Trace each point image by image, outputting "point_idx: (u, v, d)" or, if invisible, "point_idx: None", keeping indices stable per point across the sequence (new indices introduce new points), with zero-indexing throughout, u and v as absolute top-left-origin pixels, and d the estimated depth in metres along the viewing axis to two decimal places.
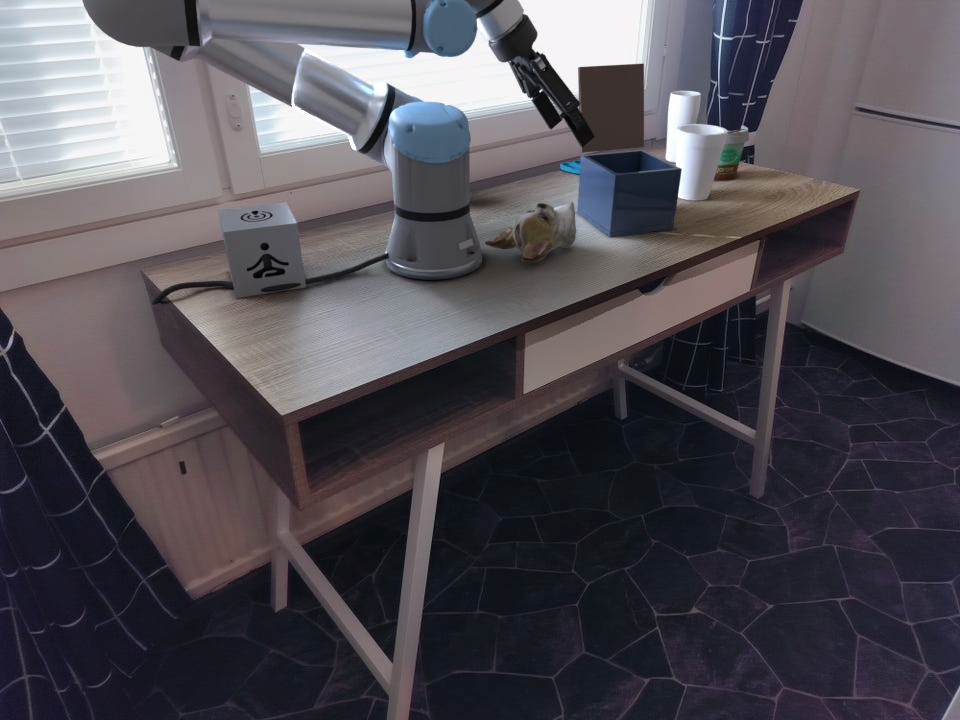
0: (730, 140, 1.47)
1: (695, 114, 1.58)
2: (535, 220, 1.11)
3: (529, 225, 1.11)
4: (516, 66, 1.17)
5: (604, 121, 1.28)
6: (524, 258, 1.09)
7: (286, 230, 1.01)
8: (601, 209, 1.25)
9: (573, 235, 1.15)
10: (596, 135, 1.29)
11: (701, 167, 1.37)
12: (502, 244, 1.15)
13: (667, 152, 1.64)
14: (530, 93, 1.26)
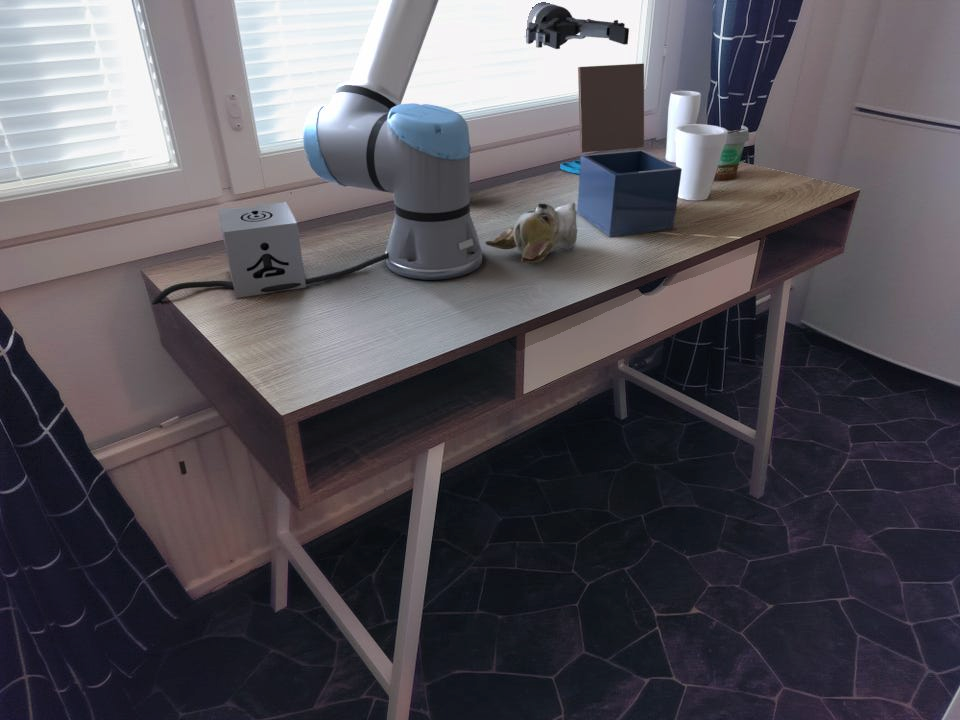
0: (730, 140, 1.47)
1: (695, 114, 1.58)
2: (535, 221, 1.11)
3: (529, 226, 1.11)
4: None
5: (604, 121, 1.28)
6: (524, 258, 1.09)
7: (286, 230, 1.01)
8: (601, 209, 1.25)
9: (574, 236, 1.15)
10: (596, 135, 1.29)
11: (701, 167, 1.37)
12: (503, 244, 1.15)
13: (667, 152, 1.64)
14: None
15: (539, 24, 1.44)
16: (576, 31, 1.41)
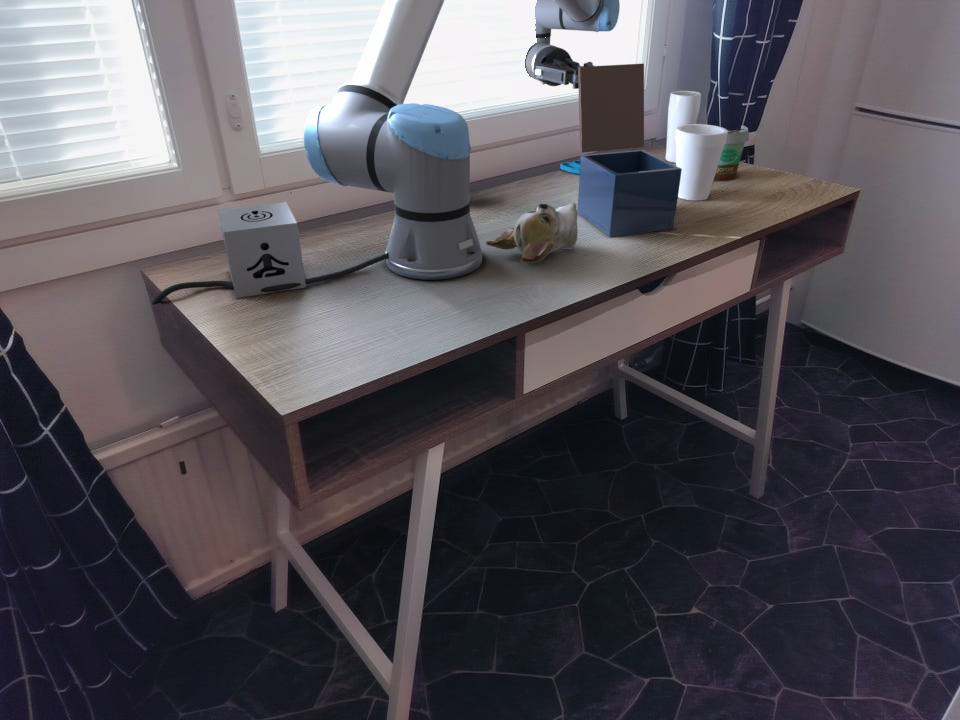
0: (730, 140, 1.47)
1: (695, 114, 1.58)
2: (536, 221, 1.11)
3: (530, 226, 1.11)
4: None
5: (604, 121, 1.28)
6: (524, 258, 1.09)
7: (286, 230, 1.01)
8: (601, 209, 1.25)
9: (575, 236, 1.15)
10: (596, 135, 1.29)
11: (701, 167, 1.37)
12: (503, 244, 1.15)
13: (667, 152, 1.64)
14: None
15: (539, 65, 1.47)
16: None
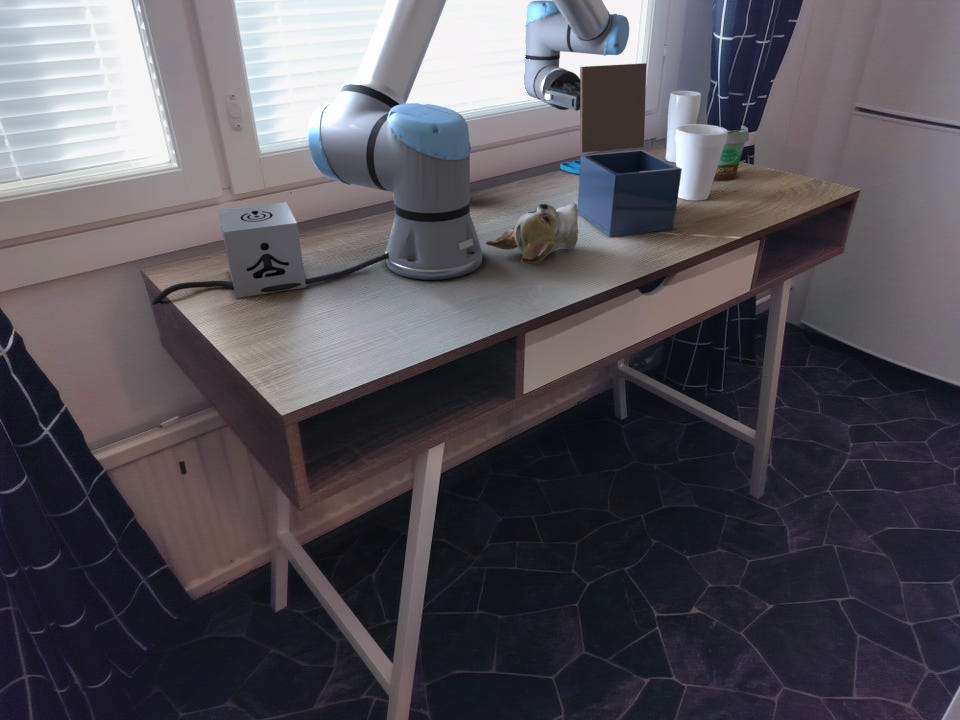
0: (730, 140, 1.47)
1: (695, 114, 1.58)
2: (536, 221, 1.11)
3: (530, 226, 1.11)
4: None
5: (605, 121, 1.28)
6: (524, 259, 1.09)
7: (286, 230, 1.01)
8: (601, 209, 1.25)
9: (575, 236, 1.15)
10: (596, 135, 1.28)
11: (701, 167, 1.37)
12: (504, 245, 1.15)
13: (667, 152, 1.64)
14: None
15: (548, 88, 1.44)
16: None
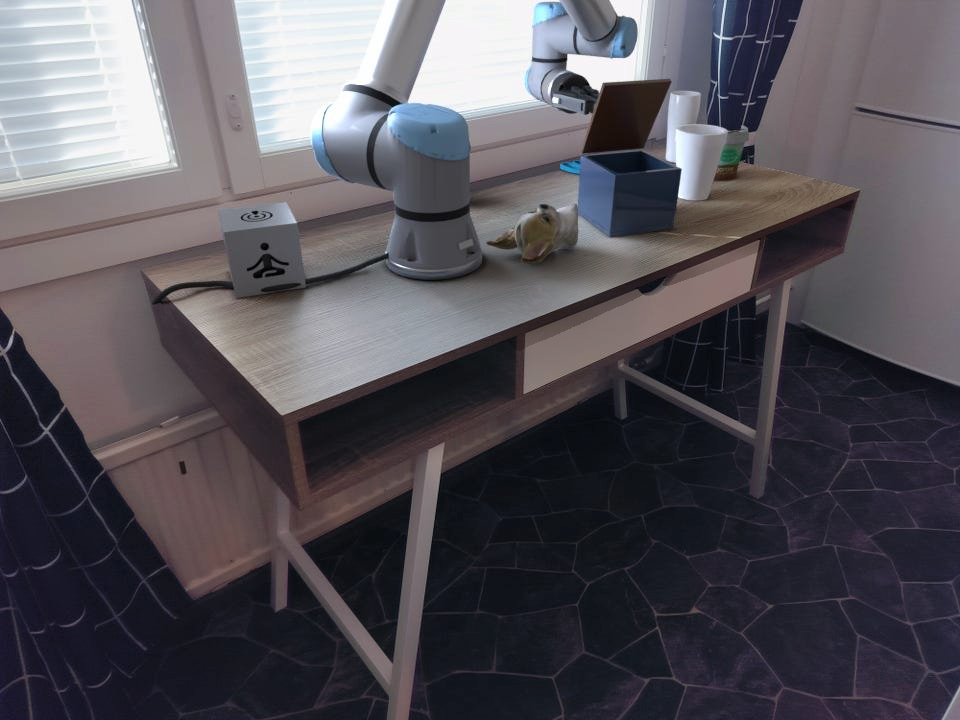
0: (730, 140, 1.47)
1: (695, 114, 1.58)
2: (536, 221, 1.11)
3: (530, 226, 1.11)
4: None
5: (612, 129, 1.26)
6: (523, 259, 1.09)
7: (286, 230, 1.01)
8: (601, 209, 1.25)
9: (575, 237, 1.15)
10: (600, 140, 1.27)
11: (701, 167, 1.37)
12: (504, 245, 1.15)
13: (667, 152, 1.64)
14: (596, 100, 1.32)
15: (556, 92, 1.41)
16: None
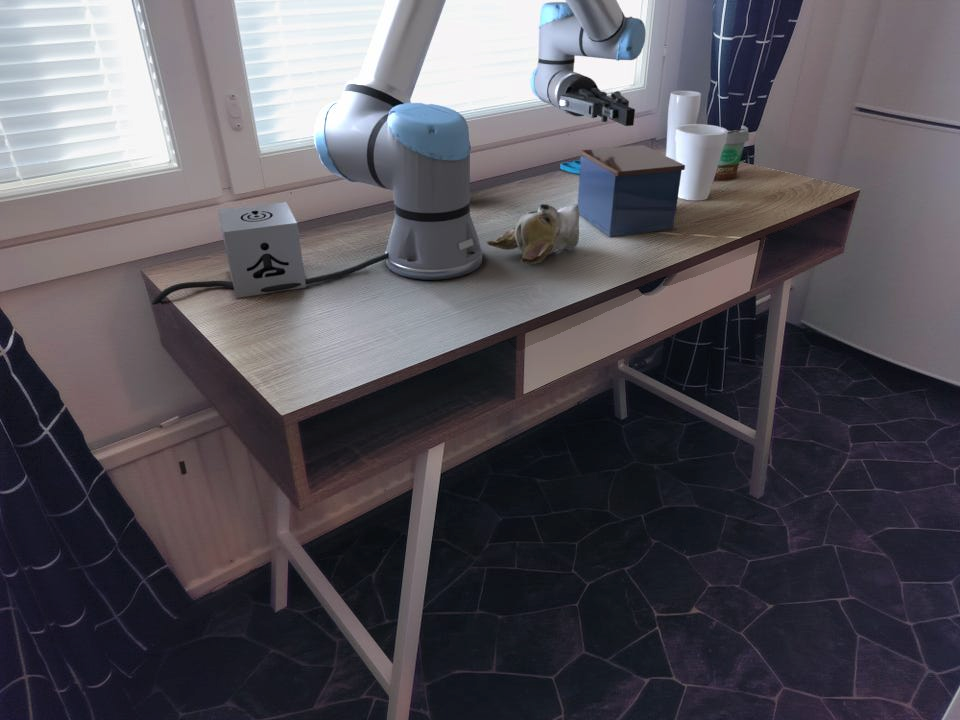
0: (730, 140, 1.47)
1: (695, 114, 1.58)
2: (536, 221, 1.11)
3: (530, 226, 1.11)
4: None
5: None
6: (523, 259, 1.09)
7: (286, 230, 1.01)
8: (601, 209, 1.25)
9: (576, 237, 1.14)
10: None
11: (701, 167, 1.37)
12: (504, 245, 1.15)
13: (667, 152, 1.64)
14: None
15: (563, 94, 1.38)
16: None
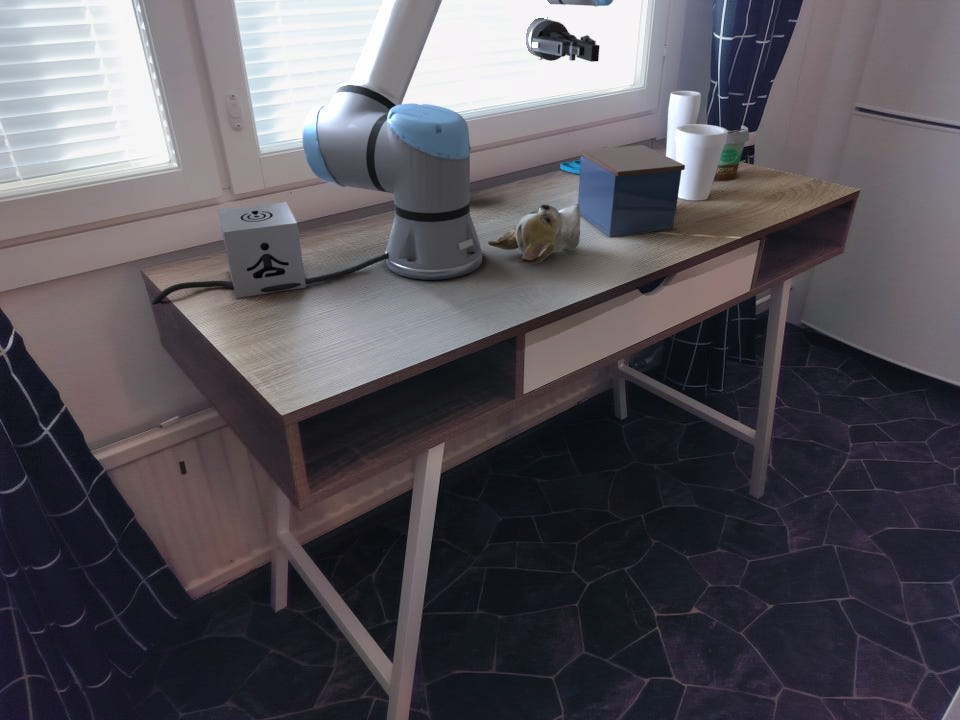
0: (730, 140, 1.47)
1: (695, 114, 1.58)
2: (537, 222, 1.11)
3: (531, 227, 1.11)
4: None
5: None
6: (523, 259, 1.09)
7: (286, 230, 1.01)
8: (601, 209, 1.25)
9: (577, 238, 1.14)
10: None
11: (701, 167, 1.37)
12: (505, 245, 1.15)
13: (667, 152, 1.64)
14: None
15: None
16: None
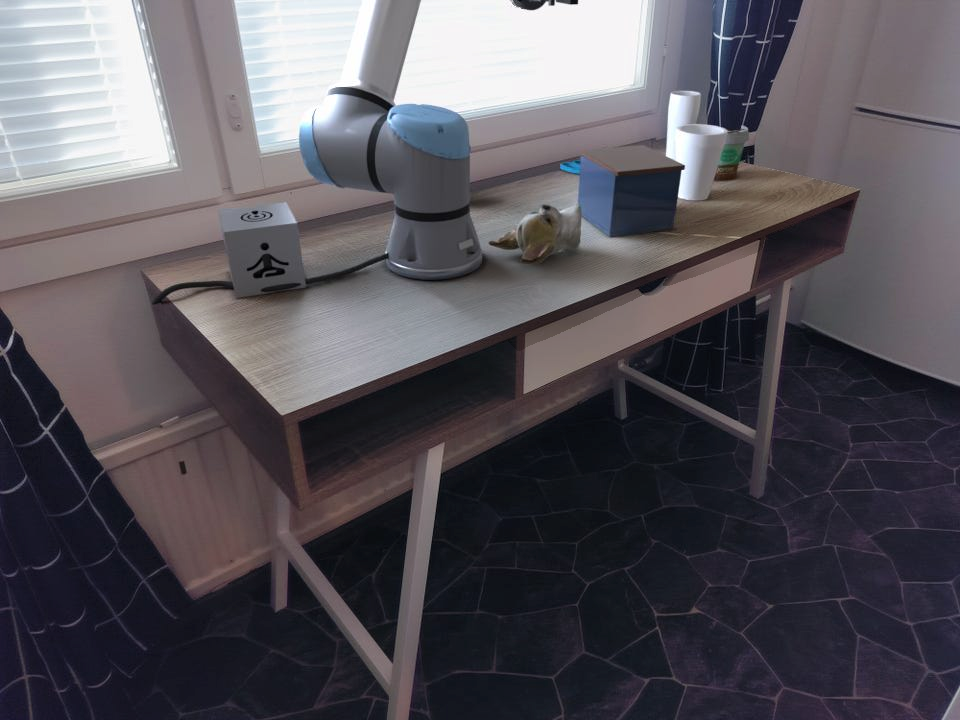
0: (730, 140, 1.47)
1: (695, 114, 1.58)
2: (537, 222, 1.11)
3: (531, 227, 1.11)
4: None
5: None
6: (523, 259, 1.09)
7: (286, 230, 1.01)
8: (601, 209, 1.25)
9: (578, 238, 1.14)
10: None
11: (701, 167, 1.37)
12: (505, 245, 1.15)
13: (667, 152, 1.64)
14: None
15: None
16: None
